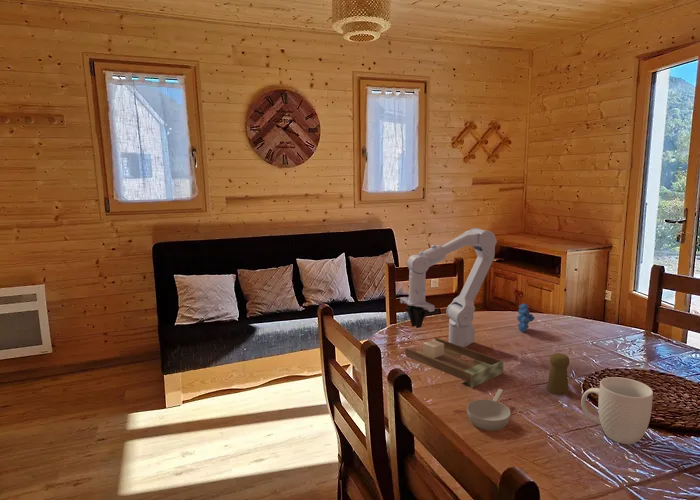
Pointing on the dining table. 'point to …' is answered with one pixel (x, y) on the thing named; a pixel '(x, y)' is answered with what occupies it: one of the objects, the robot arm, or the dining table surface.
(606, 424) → the mug
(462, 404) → the dining table surface
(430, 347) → the cream block
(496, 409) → the saucepan
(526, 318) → the grapes
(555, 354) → the cork
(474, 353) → the olive long flat tray
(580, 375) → the dining table surface
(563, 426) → the dining table surface
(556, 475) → the dining table surface
